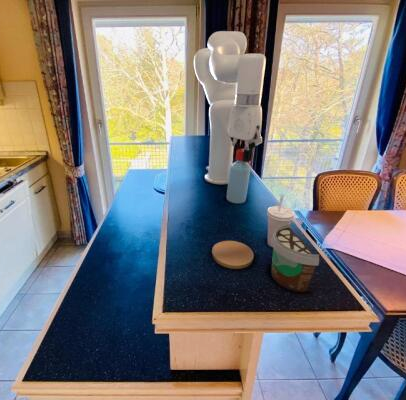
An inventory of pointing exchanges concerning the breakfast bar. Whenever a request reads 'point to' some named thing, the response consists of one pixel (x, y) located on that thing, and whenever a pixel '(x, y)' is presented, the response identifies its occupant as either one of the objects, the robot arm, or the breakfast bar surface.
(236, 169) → the bottle
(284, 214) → the smoothie
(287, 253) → the food container
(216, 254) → the coaster
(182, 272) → the breakfast bar surface
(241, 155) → the cap
